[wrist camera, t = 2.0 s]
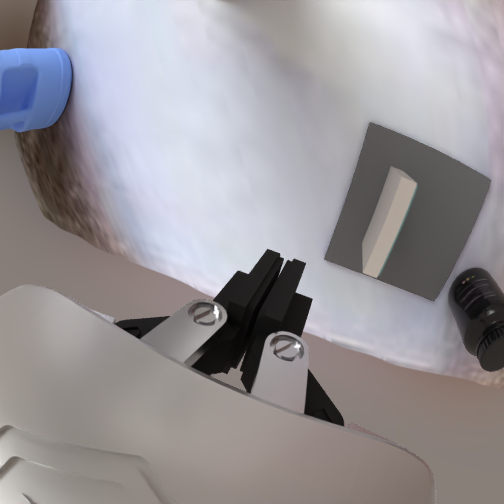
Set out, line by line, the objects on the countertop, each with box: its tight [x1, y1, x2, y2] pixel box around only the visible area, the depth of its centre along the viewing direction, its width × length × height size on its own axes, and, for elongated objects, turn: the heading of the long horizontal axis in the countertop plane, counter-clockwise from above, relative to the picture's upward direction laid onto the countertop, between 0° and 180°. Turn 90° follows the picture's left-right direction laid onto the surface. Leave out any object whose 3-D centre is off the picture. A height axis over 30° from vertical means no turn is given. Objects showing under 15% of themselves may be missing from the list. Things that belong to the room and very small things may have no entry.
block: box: [362, 166, 418, 278], centre depth 25 cm, size 9×2×7 cm, turn 166°
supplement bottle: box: [449, 268, 504, 372], centre depth 22 cm, size 7×7×12 cm
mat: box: [324, 122, 491, 301], centre depth 27 cm, size 16×15×1 cm
